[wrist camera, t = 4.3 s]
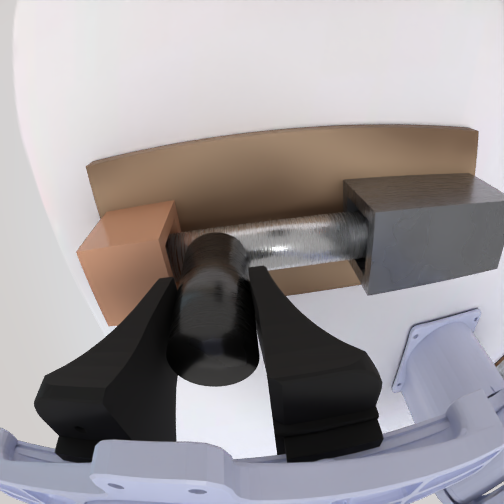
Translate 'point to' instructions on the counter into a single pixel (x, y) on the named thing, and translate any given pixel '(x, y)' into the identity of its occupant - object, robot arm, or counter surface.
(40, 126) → the counter surface
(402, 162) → the base board
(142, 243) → the socket
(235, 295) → the slide bolt
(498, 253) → the sleeve
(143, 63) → the counter surface
